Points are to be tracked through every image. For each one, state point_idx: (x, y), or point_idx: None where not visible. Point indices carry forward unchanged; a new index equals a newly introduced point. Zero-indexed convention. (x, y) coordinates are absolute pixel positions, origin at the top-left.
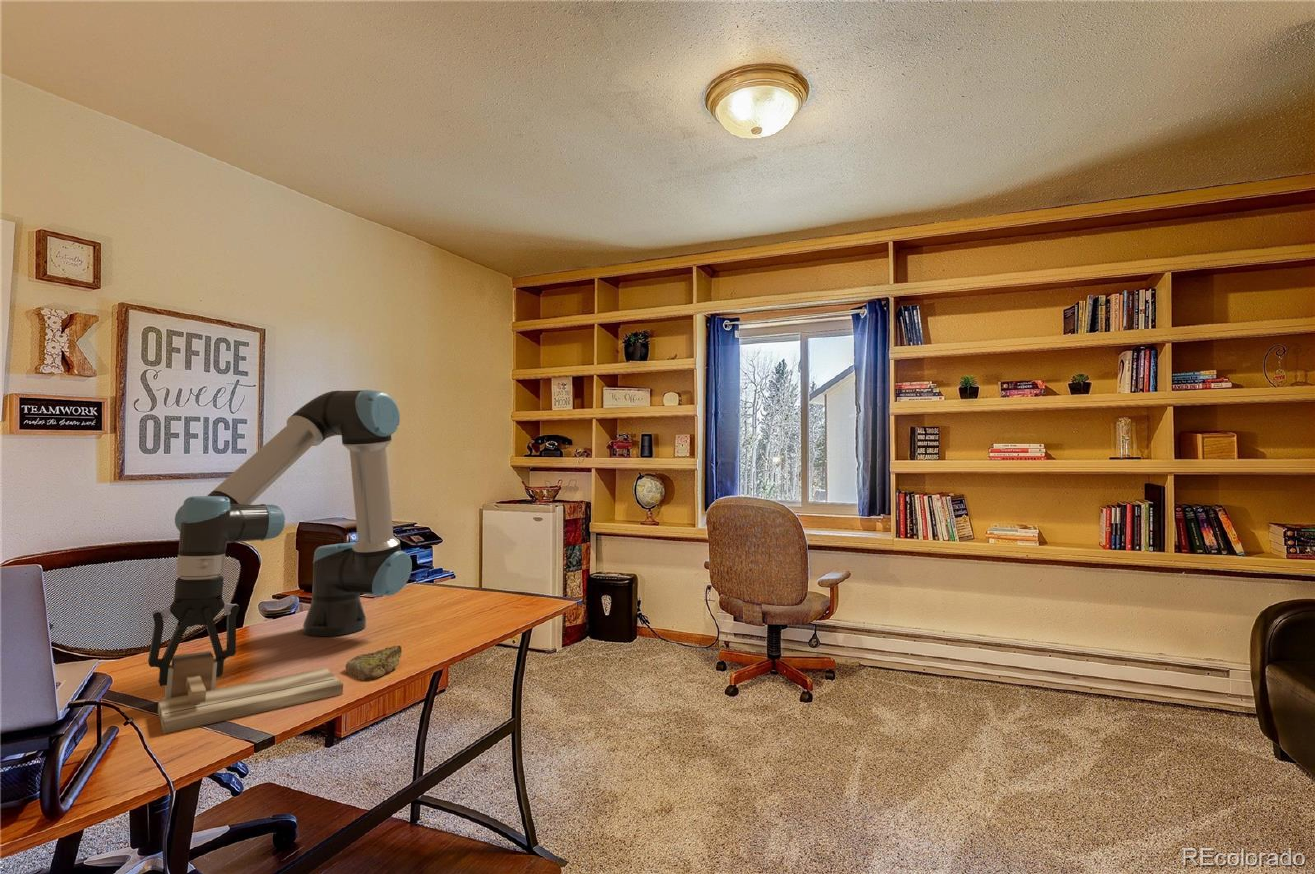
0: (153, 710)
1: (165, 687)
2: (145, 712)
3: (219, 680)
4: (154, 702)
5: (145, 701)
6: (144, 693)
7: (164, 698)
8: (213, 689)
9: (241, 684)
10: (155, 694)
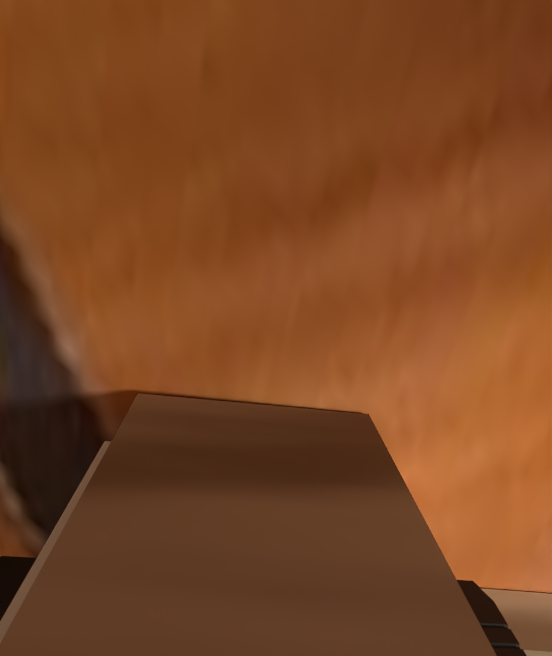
0: (46, 518)
1: (71, 503)
2: (5, 521)
3: (532, 173)
4: (60, 371)
5: (8, 304)
6: (4, 79)
7: (100, 451)
8: None
9: (531, 653)
10: (77, 180)
